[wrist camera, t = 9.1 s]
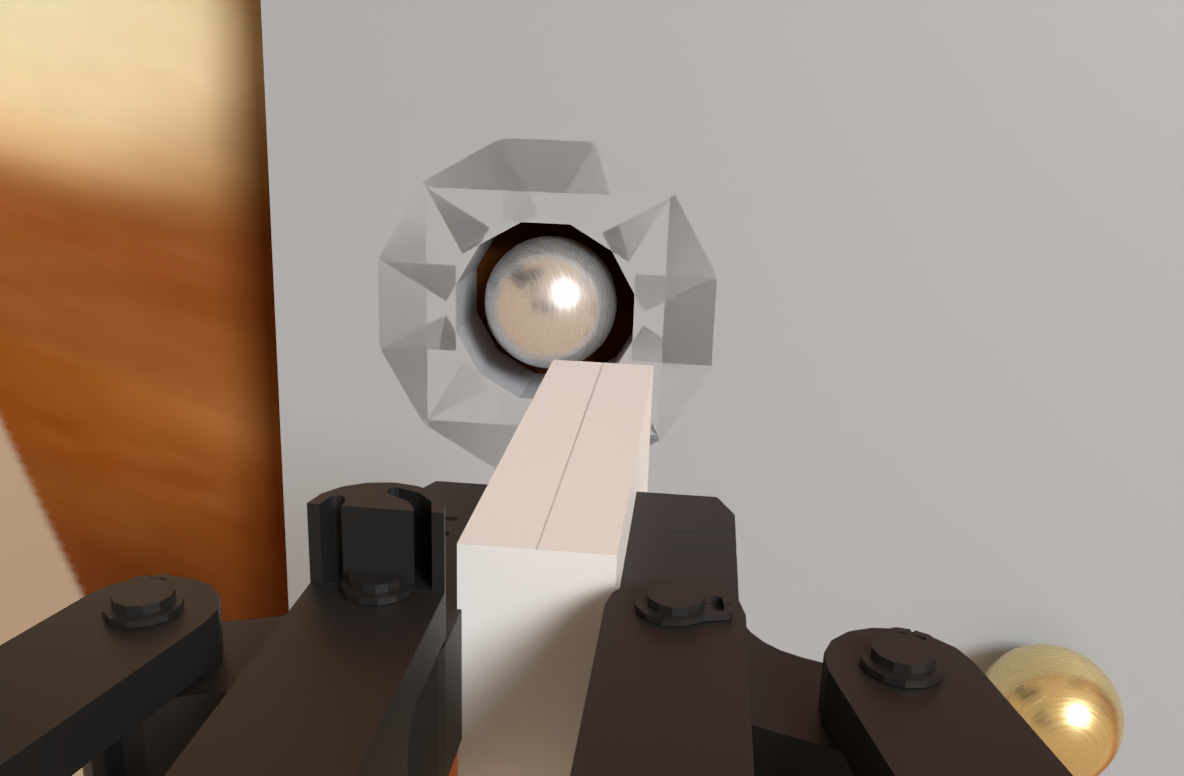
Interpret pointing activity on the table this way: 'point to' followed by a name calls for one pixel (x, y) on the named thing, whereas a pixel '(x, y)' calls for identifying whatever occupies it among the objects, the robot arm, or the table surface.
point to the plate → (778, 291)
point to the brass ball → (1063, 703)
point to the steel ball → (550, 301)
